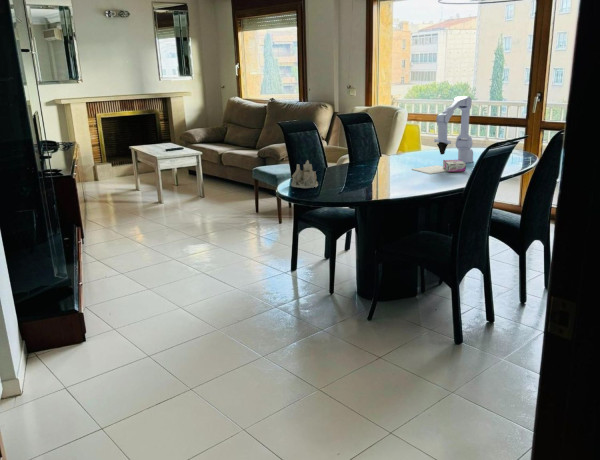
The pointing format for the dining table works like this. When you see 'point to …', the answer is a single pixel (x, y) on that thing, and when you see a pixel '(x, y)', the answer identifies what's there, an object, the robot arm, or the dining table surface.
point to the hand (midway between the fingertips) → (442, 154)
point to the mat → (431, 169)
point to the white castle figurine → (304, 177)
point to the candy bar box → (454, 165)
